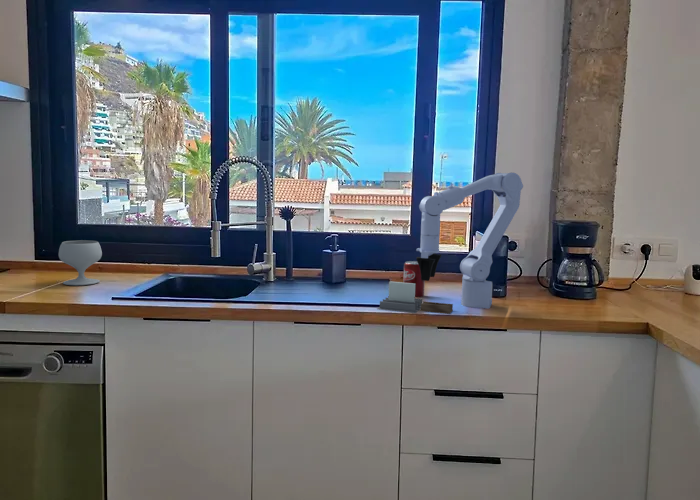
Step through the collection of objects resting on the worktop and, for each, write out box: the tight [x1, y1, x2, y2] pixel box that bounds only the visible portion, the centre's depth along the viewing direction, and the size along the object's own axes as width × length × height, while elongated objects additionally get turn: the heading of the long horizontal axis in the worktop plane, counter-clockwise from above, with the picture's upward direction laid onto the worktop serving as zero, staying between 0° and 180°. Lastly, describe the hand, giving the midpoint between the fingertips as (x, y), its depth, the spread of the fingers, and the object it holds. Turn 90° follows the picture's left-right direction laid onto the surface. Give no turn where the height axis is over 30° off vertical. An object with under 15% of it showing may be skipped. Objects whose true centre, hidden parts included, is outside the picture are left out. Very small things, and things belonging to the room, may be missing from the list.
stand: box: [419, 300, 454, 315], centre depth 164 cm, size 9×6×3 cm, turn 70°
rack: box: [376, 295, 423, 314], centre depth 168 cm, size 12×13×3 cm
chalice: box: [58, 239, 103, 286], centre depth 195 cm, size 14×14×15 cm
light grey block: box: [388, 280, 416, 302], centre depth 167 cm, size 8×1×8 cm, turn 70°
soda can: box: [403, 260, 426, 298], centre depth 186 cm, size 7×7×12 cm
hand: (428, 278), depth 169 cm, fingers open, 7 cm apart
